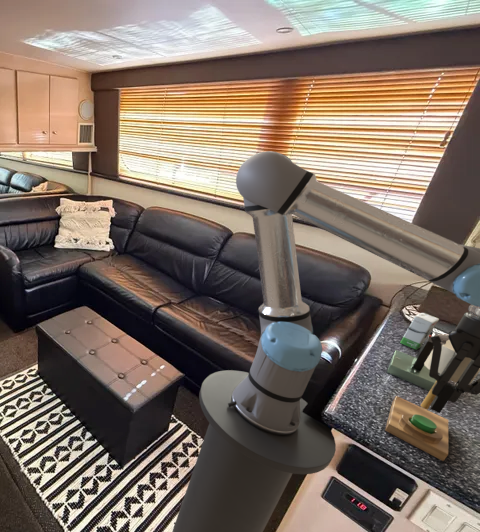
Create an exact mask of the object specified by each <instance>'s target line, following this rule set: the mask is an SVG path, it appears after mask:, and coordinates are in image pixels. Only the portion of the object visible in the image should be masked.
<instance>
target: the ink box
mask: <svg viewBox="0 0 480 532" xmlns="http://www.w3.org/2000/svg"><path fill="white" fill-rule="evenodd" d="M439 320H440V318H438V317H435V316H433V315H430V314H428V313H426V312H420V313H418V314H417V315H415V316H414V318H413V319H412V321H411V323H410V324H409V326H408V328H407V330H406V331H405V333H404V335H403V337H402V338H401V340H400V342H399V343H400V344H402V345H403V346H406V347H409V348H411V349H413V350H415V351H416V350H417V351H418V349H421V347H422V344H423V343H424V342H425V340H426V339H427V337H428V335H431V334H432V331H433V330H434V329H435V327H436V325H437V324H438V322H439ZM411 345H412V346H411ZM416 347H417V348H416Z"/></svg>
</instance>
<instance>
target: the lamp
mask: <svg viewBox="0 0 480 532" xmlns="http://www.w3.org/2000/svg"><path fill="white" fill-rule="evenodd" d="M454 352H455V351H454V349H453V347H452V344H451V342H450V340H447V341H446V344H444V345H442V351H441V357H440V363H439V368H438V373H440V374H441V373H442V372H443V370H444V369H445V367H446V366H447V364H448V362H449V361H450V359H451V358H452V356H453V355H454ZM432 353H433V350H432V351H431V353H430V355H429V356H428V358H427V360H426V361H425V363H424V365H425V366H426V367H427V368H428V369H429V370H430V365H431V359H432ZM470 361H471V358H467V357H465V358H464V360H463V361H462V362H461V363H460V365H459V366H458V368H457V369H456V371H455V372H454V374H453V376H452V377H451V379H450V380H449V381H451V382H454V383H457V381H458V380H459V378H460V376H461V375H462V373H463V372H464V370H465V369H466V367H467V366H468V364H469V363H470ZM479 373H480V369H479V370H478V372H477V373H476V374H475V376H474V377H473V379H472V380H471V382H470V383H469V385H471V384H472V383H473V382H474V380H475V379H476V377H477V376H478V374H479ZM436 382H437V381H436ZM436 382H435V384H436ZM435 384H434V385H435ZM434 385H433V387H434ZM433 387H432V388H433ZM432 388H431V390H430V391H429V390H428V393H427V394H426V396H425V397H424V398H423V400H422V402H421V403H420V407H421V408H424V409H426V410H429V408H431V403H432V401H433V400H434V398H435V397H436V395H434V394H432Z"/></svg>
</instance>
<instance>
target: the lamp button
mask: <svg viewBox="0 0 480 532" xmlns="http://www.w3.org/2000/svg"><path fill="white" fill-rule="evenodd" d="M410 422H411V424H413V425H414V426H415V427H417V428H418V429H420V430H422V431H424V432H427V433H430V434H432V433H433V432H434V431H435V429H436V428H437V426H436V424H435V423H434V422H433V421H431V420H430V419H428V418H426V417H424V416H421V415H417V414H415V415H413V417H412V418H411V420H410Z"/></svg>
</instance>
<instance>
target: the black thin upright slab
mask: <svg viewBox="0 0 480 532" xmlns="http://www.w3.org/2000/svg"><path fill="white" fill-rule="evenodd" d="M431 335H432V334H430V335H428V337H427V339H426V340H425V342H424V344H423V345H422V346H421V347H420V348H419V350H418V352H417V353H416V355H415V356H414V357H415V359H414V360H413V364H412V368H414V369H416V370H418V371H421V370H422V368H423V366H424V363H425V361H426V360H427V358H428V356H429V355H430V353H431V351H432V350H433V347H434V345H433V343H432V340H431Z"/></svg>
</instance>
